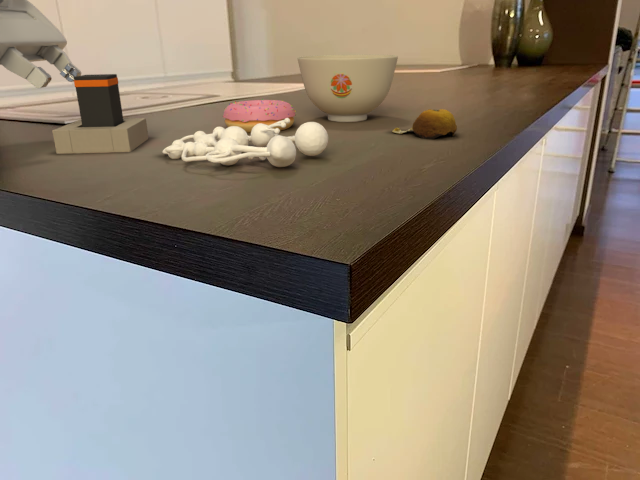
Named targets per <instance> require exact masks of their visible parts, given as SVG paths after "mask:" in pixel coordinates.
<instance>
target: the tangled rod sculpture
mask: <svg viewBox="0 0 640 480" xmlns="http://www.w3.org/2000/svg"><path fill="white" fill-rule="evenodd" d="M289 122H290V119H289V118H285V120H282V121H279V122H276V123H274V124H271V125H269V126H268V125H266V124H262V123H259V124H257V125H255V126H254V127H253V128H252V131H251V133H250V135H248V133H246V131H245V130H244V129H242V128H240V127H238V126H230V127H226V128H225V127H222V126H216V127H215V128H213V130H212V133H206V132H205V131H203V130H198V131H195V133H194V134H189V135H185V136H183V137H182V138H180V139H175V140H173V142H172V143H171V145H168V146H167V147H165V148H164V149H162V151H161V152H162V154H163V155H168V157H169V158H170V159H172V160H179V159H181V160H182V161H183V162H187V163H189V162H199V161H208V162H211V163H214V164H220V165H223V166H233V165H235V164H237V163H238V162H239V160H242V159H246V158H247V159H248V160H254V158H259V160H260V161H265V160H266V159H267V161H268V162H269V163H270V164H271V165H272V166H274V167H276V168H284V167H288V166H290V165H291V164H292V165H293V163H294V162H295V160H296V158H297V157H296V156H297V150H298V151H299V152H300V153H302V154H303V155H305V156H308V157H314V156H315V157H316V156H318V155H320V154H322V153H323V152H324V151H325V150H326V149H327V146H328V143H329V134H328V131H327V130H326V128H325V127H324V126H323V125H322V124H321V123H319V122H316V121H307V122H304V123H302V124H301V125H299V127H298V128H297V129H296V131H295V134H294V135H291V136H284V135H282V134H280V132H281V131H280V130H279V129H278V128H276V129H273V127H277V126H281V127H282V128H285V127H286V124H288V123H289ZM190 139H193V141H187V140H190ZM186 141H187V142H186ZM249 143H252V145H253V146H251V145H249Z"/></svg>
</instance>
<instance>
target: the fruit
mask: <svg viewBox="0 0 640 480" xmlns="http://www.w3.org/2000/svg"><path fill="white" fill-rule="evenodd" d="M457 130H458V126H457V123H456V119H455V116H454V115H453V114H452V112H451V111H450V110H447V109H445V108H440V109H432V108H430V109H426V110H423V111H422V112H421V113H420V114H419V115H418V116H417V117H416V119H415V120H414V121H413V123H412V127H410V128H409V129H407V130H402V129H400V127H395V128H393V130H391V131H392V133H395V134H400V135H401V134H405V133H408V132H410V131H412V132H413V133H414V134H415V135H416V136H417V137H419V138H420V139H423V140H435V139H436V138H438V137H440V136H445V135H452V136H455V134H456V132H457Z"/></svg>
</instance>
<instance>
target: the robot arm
mask: <svg viewBox="0 0 640 480" xmlns="http://www.w3.org/2000/svg"><path fill="white" fill-rule="evenodd" d="M67 44H68V41H67V39H66V37H65V36H64V34H63V32H62V31H60V29H59V28H57V26H56V25H54V23H53V22H51V20H50V19H49V18H48V17H47V16H46V15H45V14H43V12H42V11H40V10H39V8H38V7H36V5H34V4H33V3H32V2H30V1H29V0H0V66H3V67H4V68H5V69H6V70H7V71H9V72H10V73H13V74H15V75H17V76H18V77H21V78H23V79H25V80H26V81H28V82H29V83H30V84H31V85H32V86H33V87H35V88H37V89H42V88H46V87H48V85H49V84H50V82H51V81H52V75H50V73H48V72H47V71H46V70H45V69H44V68H42V66H37V65H36V64H34V63H33V62H44V61H46V62H47V63H49V64H50V65H53V66H54V67H55V68H56V69H57V71H59V75H60V76H62V78H64V79H65V80H66V81H67V82H70V83H72V82H73V83H74V77H77V76H82V71H81V69H79V68H78V67H77V66H76V65H74V63H73V62H72V60H71V59H70V58H69V56H68V55H67V53H66V52H65V51H64V49H65V47H66V46H67Z"/></svg>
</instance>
